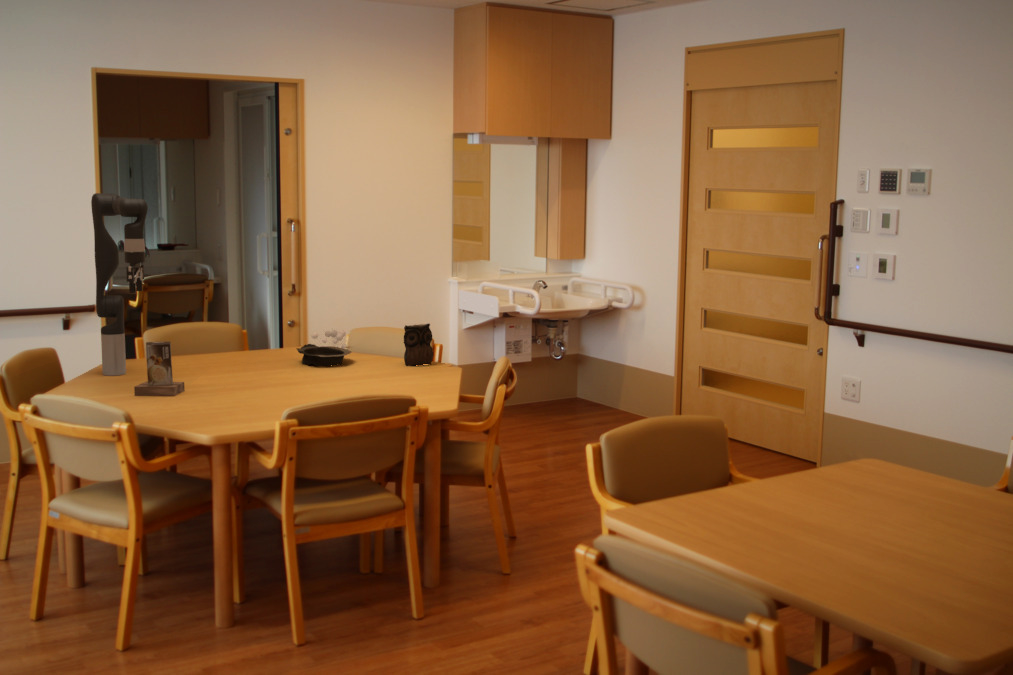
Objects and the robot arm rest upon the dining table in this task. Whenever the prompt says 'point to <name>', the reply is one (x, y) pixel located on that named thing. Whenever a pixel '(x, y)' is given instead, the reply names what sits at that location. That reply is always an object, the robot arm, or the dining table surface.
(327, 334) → the decorative flower
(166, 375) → the coffee box
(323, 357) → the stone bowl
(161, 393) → the walnut base block
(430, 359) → the owl
